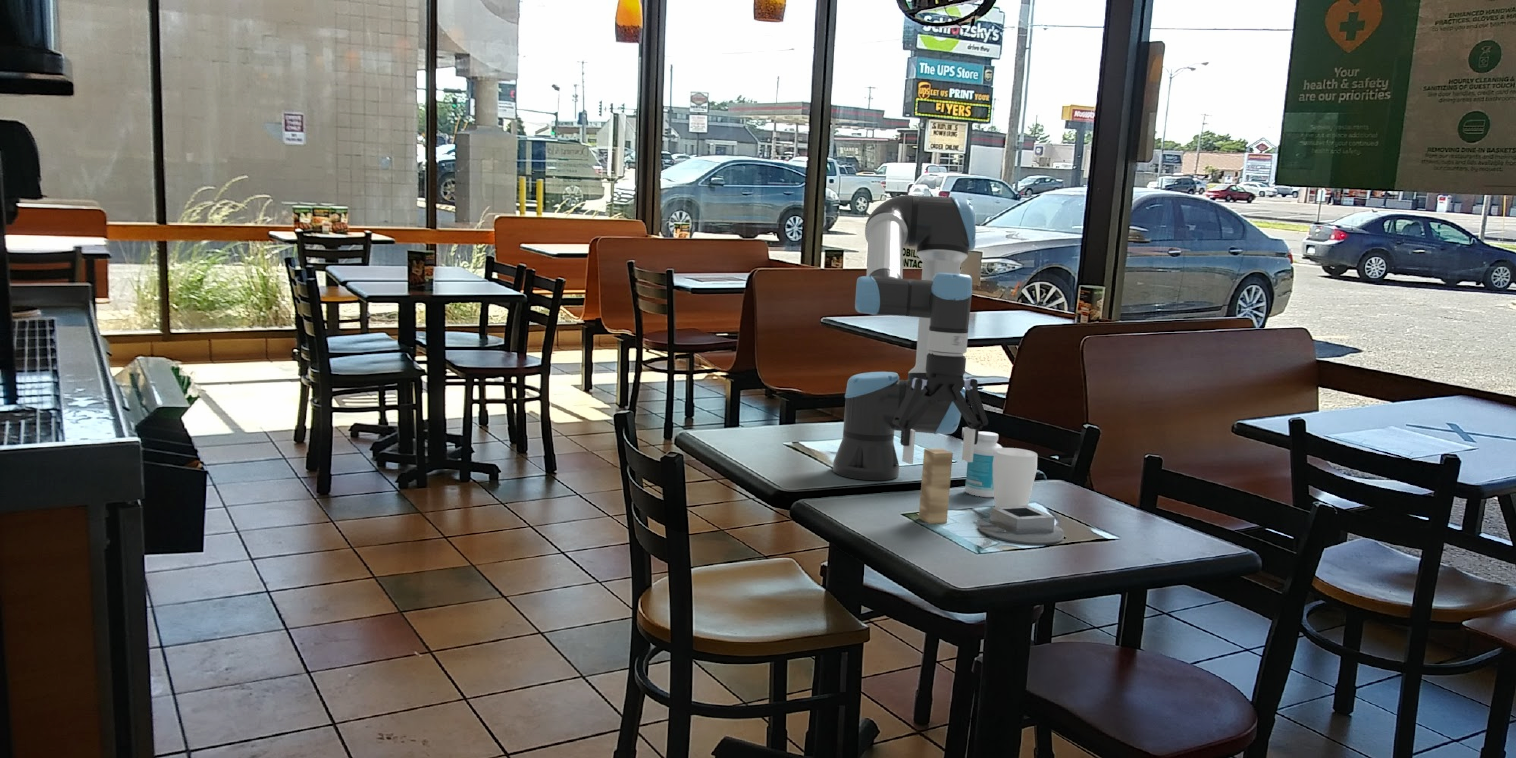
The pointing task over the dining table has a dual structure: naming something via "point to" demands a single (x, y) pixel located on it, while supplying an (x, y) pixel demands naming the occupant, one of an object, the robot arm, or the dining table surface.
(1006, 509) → the square tray on disc
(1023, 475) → the cup
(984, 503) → the dining table surface
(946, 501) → the tan wooden block
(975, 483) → the pill bottle
